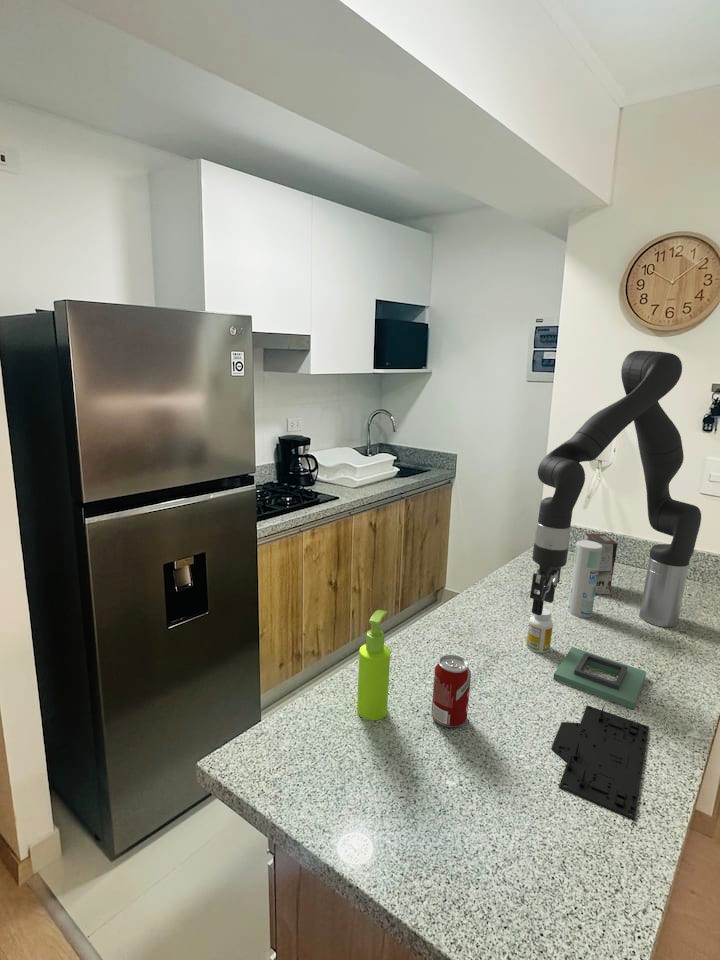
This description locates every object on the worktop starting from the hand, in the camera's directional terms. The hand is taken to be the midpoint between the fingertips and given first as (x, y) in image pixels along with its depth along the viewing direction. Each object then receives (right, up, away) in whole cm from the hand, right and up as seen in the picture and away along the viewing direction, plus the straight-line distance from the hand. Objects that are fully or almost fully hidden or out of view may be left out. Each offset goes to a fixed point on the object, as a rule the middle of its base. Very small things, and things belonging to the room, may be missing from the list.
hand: (542, 607), depth 127 cm
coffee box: (+29, -3, +38) cm, 47 cm away
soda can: (-26, -16, -24) cm, 39 cm away
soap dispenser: (-41, -15, -22) cm, 49 cm away
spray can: (+18, -7, +21) cm, 28 cm away
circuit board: (-1, -19, -31) cm, 36 cm away
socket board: (+9, -13, -9) cm, 19 cm away
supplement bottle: (0, -10, +3) cm, 11 cm away
